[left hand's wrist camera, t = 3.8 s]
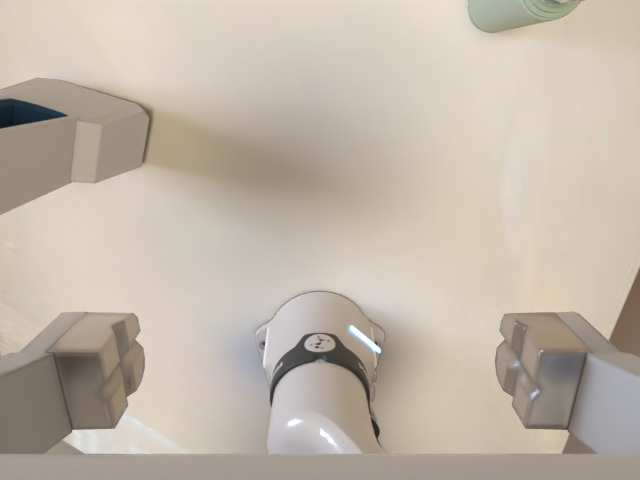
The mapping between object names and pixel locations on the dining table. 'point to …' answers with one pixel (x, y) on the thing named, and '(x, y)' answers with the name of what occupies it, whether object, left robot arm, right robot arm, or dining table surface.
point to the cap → (568, 1)
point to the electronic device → (64, 138)
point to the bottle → (515, 13)
